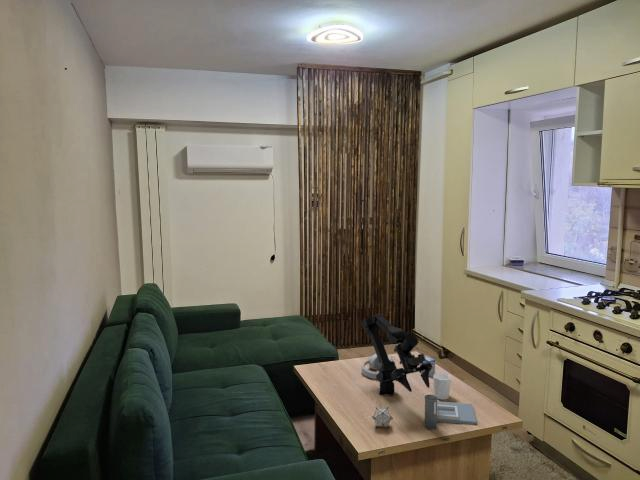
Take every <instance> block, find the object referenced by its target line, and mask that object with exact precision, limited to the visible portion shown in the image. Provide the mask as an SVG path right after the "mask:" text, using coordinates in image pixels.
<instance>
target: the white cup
mask: <svg viewBox="0 0 640 480" xmlns="http://www.w3.org/2000/svg"><path fill="white" fill-rule="evenodd" d="M432 377H433V378H432V379H433V392H434V393H433V395H435V396H437V398H438V400H447V399H449V398H450V389H451V375H449V374H447V373H444V372H443V373H442V372H437V373H435V374H434V375H433V376H432Z"/></svg>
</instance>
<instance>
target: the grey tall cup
mask: <svg viewBox="0 0 640 480" xmlns="http://www.w3.org/2000/svg"><path fill="white" fill-rule="evenodd" d="M438 400H439V399H438V398H437V396H435V395H434V394H426V395H425V396H424V428H425V429H427V430H430V431H435V430H437V428H438V421H437V401H438Z"/></svg>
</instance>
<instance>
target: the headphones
mask: <svg viewBox="0 0 640 480" xmlns="http://www.w3.org/2000/svg"><path fill="white" fill-rule="evenodd" d="M388 358H389V360H390V361H391V362H392V361H394V363H395V366H396V367H397V365H396V361H395V359H394V358H393V357H392V356H391V355H388ZM366 365H368V366H369V368H370V369H373V370H374V371H375V370H379V365H380V363H379V360H378V357H377V354H376V353H374V354H372V355H371V356H370V357H369V358H368V360H366V361H365V362H363V363H362V365H361V372H362V374H363V376H364V377H366V378H369V379H371V380H375V381H377V379H376V375H377V374H378V373H379V372H374V371H371V370H369V369H367V368H366V367H365V366H366Z"/></svg>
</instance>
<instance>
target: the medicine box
mask: <svg viewBox="0 0 640 480" xmlns="http://www.w3.org/2000/svg"><path fill="white" fill-rule="evenodd" d="M424 356H425V361H423V363H428V362H430V363H431V364H432V366H433V368H432V369H431V371H430V372H429V378H431V377H433V375H434V374H436V360H435V359H434V358H432V357H430V356H428V355H426V354H424ZM421 365H422V364H419V367H420V366H421Z"/></svg>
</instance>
